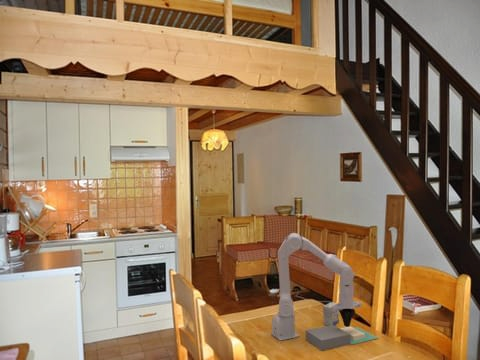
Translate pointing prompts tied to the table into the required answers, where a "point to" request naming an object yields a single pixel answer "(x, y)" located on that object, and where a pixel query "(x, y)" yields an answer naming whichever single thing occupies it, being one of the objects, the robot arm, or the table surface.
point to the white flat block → (354, 333)
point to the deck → (327, 337)
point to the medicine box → (330, 314)
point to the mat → (367, 337)
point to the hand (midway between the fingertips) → (346, 326)
